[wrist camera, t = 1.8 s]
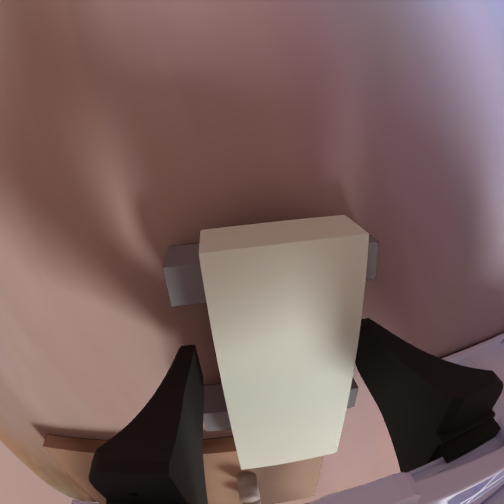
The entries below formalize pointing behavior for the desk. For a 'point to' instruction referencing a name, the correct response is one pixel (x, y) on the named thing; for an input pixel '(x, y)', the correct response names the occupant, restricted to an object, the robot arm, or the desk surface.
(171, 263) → the battens
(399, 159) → the desk surface
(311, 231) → the shelf board
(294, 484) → the peg stand
